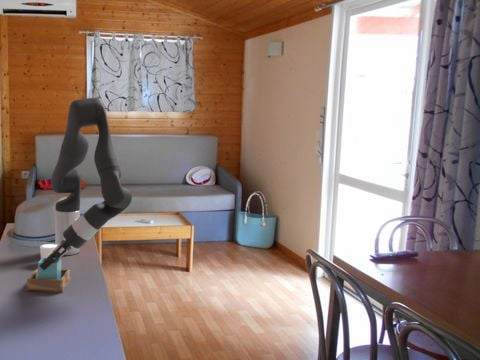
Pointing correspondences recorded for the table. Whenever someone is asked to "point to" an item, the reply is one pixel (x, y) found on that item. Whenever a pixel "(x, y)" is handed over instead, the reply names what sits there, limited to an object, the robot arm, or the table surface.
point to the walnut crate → (48, 283)
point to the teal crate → (50, 270)
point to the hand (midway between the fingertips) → (45, 264)
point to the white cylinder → (47, 249)
